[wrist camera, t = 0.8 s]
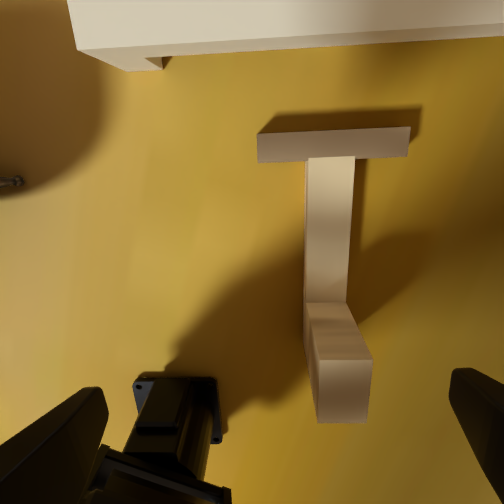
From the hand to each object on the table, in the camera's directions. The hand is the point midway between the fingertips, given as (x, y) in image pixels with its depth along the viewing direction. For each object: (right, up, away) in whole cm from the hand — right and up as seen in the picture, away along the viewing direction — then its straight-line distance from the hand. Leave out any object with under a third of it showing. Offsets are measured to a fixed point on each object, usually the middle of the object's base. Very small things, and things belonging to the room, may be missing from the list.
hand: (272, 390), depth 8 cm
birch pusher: (+4, +4, +12) cm, 14 cm away
